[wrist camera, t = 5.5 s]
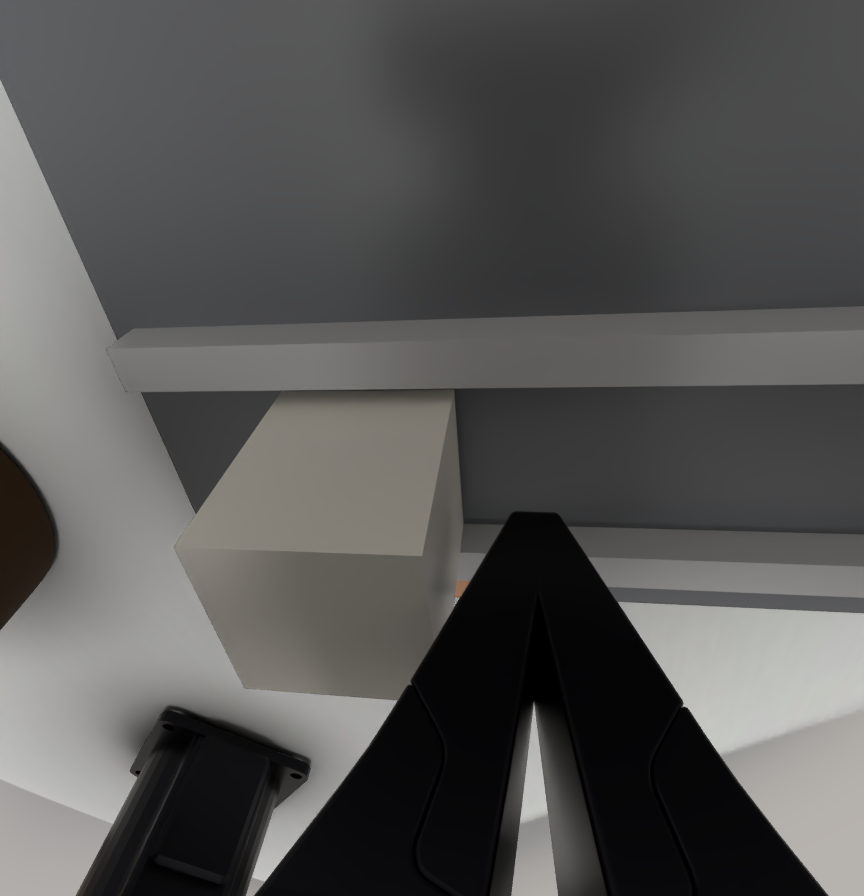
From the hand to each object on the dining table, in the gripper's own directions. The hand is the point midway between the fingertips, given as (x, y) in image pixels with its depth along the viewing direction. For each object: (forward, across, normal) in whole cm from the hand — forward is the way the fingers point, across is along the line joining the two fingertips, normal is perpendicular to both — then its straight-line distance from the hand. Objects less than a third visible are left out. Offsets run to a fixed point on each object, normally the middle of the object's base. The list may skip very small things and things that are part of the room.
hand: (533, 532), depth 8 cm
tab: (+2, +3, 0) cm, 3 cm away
